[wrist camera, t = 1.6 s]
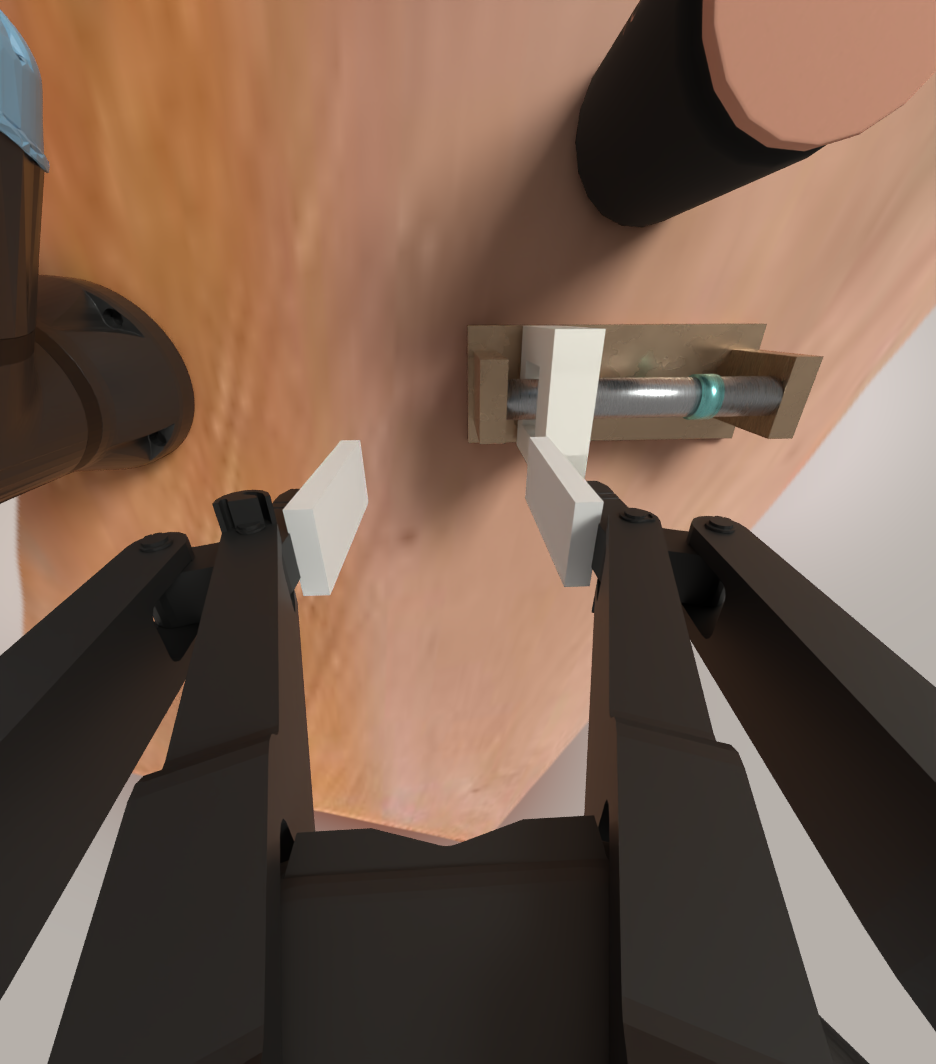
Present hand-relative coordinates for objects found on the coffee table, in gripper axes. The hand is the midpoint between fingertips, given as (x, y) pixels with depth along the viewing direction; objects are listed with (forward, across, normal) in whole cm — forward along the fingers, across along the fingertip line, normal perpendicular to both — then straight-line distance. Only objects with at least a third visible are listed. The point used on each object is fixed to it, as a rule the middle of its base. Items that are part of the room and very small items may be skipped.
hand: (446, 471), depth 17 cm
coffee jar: (+23, +15, +17) cm, 32 cm away
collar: (+21, +8, 0) cm, 22 cm away
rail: (+23, +15, 0) cm, 27 cm away
